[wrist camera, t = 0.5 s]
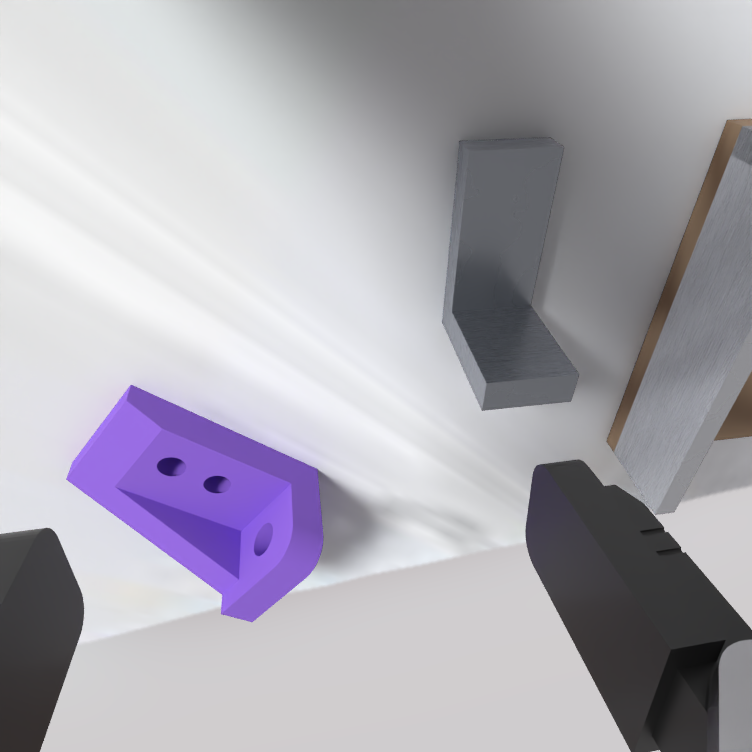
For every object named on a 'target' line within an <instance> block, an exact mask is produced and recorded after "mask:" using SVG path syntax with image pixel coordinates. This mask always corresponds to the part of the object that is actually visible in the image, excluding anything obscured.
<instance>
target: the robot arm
mask: <svg viewBox="0 0 752 752" xmlns="http://www.w3.org/2000/svg"><path fill="white" fill-rule="evenodd" d="M526 543H527V548H528V552H529V556H530V559H531V561H532V564H533V566H534V568H535V569H536V571H537V573H538V575H539V577H540V579H541V581H542V583H543V585H544V587H545V589H546V590H547V592H548V594H549V596H550V598H551V600H552V602H553V604H554V606H555V608H556V610H557V612H558V613H559V615H560V617H561V619H562V621H563V623H564V625H565V627H566V628H567V631H568V632H569V634H570V636H571V638H572V640H573V642H574V644H575V646H576V648H577V650H578V652H579V653H580V655H581V657H582V659H583V661H584V663H585V665H586V667H587V669H588V671H589V672H590V674H591V676H592V678H593V680H594V682H595V684H596V686H597V688H598V690H599V692H600V693H601V695H602V697H603V699H604V701H605V703H606V705H607V707H608V709H609V711H610V713H611V714H612V716H613V718H614V720H615V722H616V724H617V726H618V728H619V730H620V732H621V734H622V735H623V737H624V739H625V741H626V743H627V745H628V747H629V749H630V751H631V752H651V751H656V750H660V751H661V752H752V630H751V628H750V627H749V626H748V625H747V624H746V623H745V621H744V620H743V619H742V618H741V617H740V615H739V614H738V613H737V612H736V611H735V610H734V609H733V607H732V606H731V605H730V604H729V603H728V602H727V600H726V599H725V598H724V597H723V596H722V594H721V593H720V592H719V591H718V590H717V589H716V587H715V586H714V585H713V584H712V583H711V582H710V581H709V579H708V578H707V577H706V576H705V575H704V573H703V572H702V571H701V570H700V569H699V568H698V566H697V565H696V564H695V563H694V562H693V561H692V559H691V558H690V557H689V556H688V555H687V554H686V552H685V553H683V552H682V551H681V547H680V546H679V544H678V543H677V542H676V541H675V540H674V538H672V536H671V535H670V534H669V533H668V532H665V531H664V527H663V526H662V524H661V523H660V522H659V521H658V520H657V519H656V517H655V516H654V515H653V514H652V513H651V512H650V510H649V509H648V508H647V507H646V506H645V505H644V503H642V502H641V501H639V500H638V499H636V498H634V497H633V496H631V495H630V494H628V493H627V492H625V491H624V490H622V489H621V488H619V487H618V486H616V485H610V486H603V484H602V483H601V482H600V481H599V479H598V478H597V477H596V476H595V474H594V473H593V472H592V471H591V469H590V468H589V467H588V466H587V465H586V463H584V462H583V461H581V460H571V461H564V462H556V463H548V464H541V465H537V466H536V467H535V469H534V472H533V477H532V485H531V492H530V500H529V507H528V515H527V522H526ZM83 619H84V603H83V597H82V593H81V590H80V588H79V586H78V583H77V581H76V579H75V576H74V574H73V572H72V569H71V567H70V565H69V562H68V560H67V558H66V555H65V553H64V551H63V548H62V546H61V544H60V541H59V539H58V537H57V535H56V533H55V532H54V531H53V530H52V529H50V528H43V529H35V530H28V531H20V532H12V533H5V534H0V752H40V749H41V746H42V743H43V741H44V738H45V735H46V732H47V729H48V726H49V723H50V720H51V718H52V715H53V712H54V709H55V706H56V703H57V700H58V697H59V694H60V692H61V689H62V686H63V683H64V680H65V677H66V674H67V671H68V669H69V666H70V662H71V660H72V657H73V654H74V651H75V648H76V646H77V643H78V640H79V637H80V634H81V631H82V626H83Z"/></svg>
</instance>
